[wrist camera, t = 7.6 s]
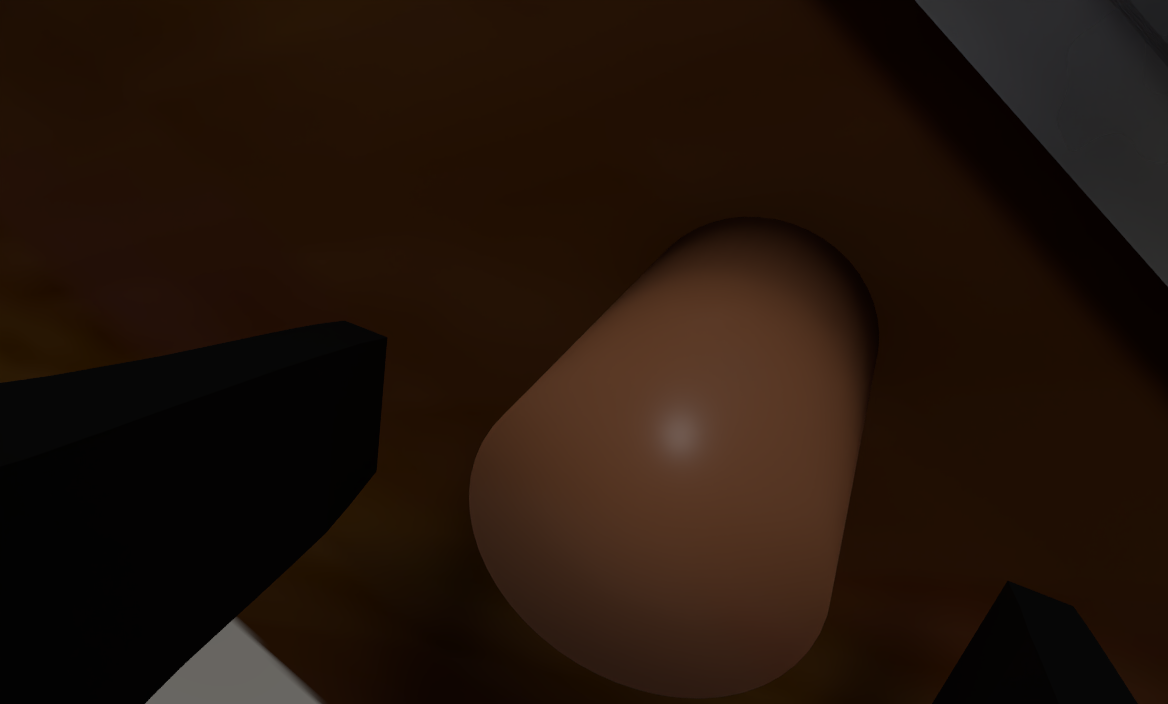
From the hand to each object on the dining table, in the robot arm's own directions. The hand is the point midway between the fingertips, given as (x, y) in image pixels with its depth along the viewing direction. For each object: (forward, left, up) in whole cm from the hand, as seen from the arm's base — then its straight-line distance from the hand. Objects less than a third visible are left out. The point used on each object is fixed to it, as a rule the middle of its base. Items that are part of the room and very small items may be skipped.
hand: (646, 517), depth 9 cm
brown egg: (0, 0, -5) cm, 5 cm away
